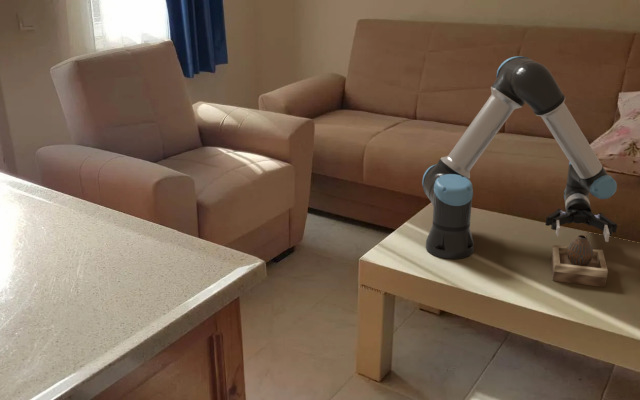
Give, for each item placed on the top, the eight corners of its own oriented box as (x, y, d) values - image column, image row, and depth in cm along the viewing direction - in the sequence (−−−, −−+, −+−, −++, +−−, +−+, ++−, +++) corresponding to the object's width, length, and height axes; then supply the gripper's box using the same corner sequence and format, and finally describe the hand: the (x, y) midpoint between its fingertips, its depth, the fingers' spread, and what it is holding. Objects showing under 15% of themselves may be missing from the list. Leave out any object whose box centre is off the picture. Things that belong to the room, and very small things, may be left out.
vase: (596, 266, 181) (600, 239, 178) (577, 270, 179) (581, 243, 176) (579, 256, 187) (583, 230, 184) (560, 260, 185) (564, 233, 182)
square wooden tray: (552, 280, 180) (554, 265, 178) (551, 259, 192) (553, 244, 191) (605, 287, 176) (607, 271, 174) (600, 265, 188) (602, 250, 187)
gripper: (618, 223, 200) (626, 251, 181) (536, 215, 207) (536, 241, 189) (621, 201, 197) (631, 228, 179) (538, 194, 205) (539, 218, 186)
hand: (582, 235), depth 184 cm, fingers open, 13 cm apart
